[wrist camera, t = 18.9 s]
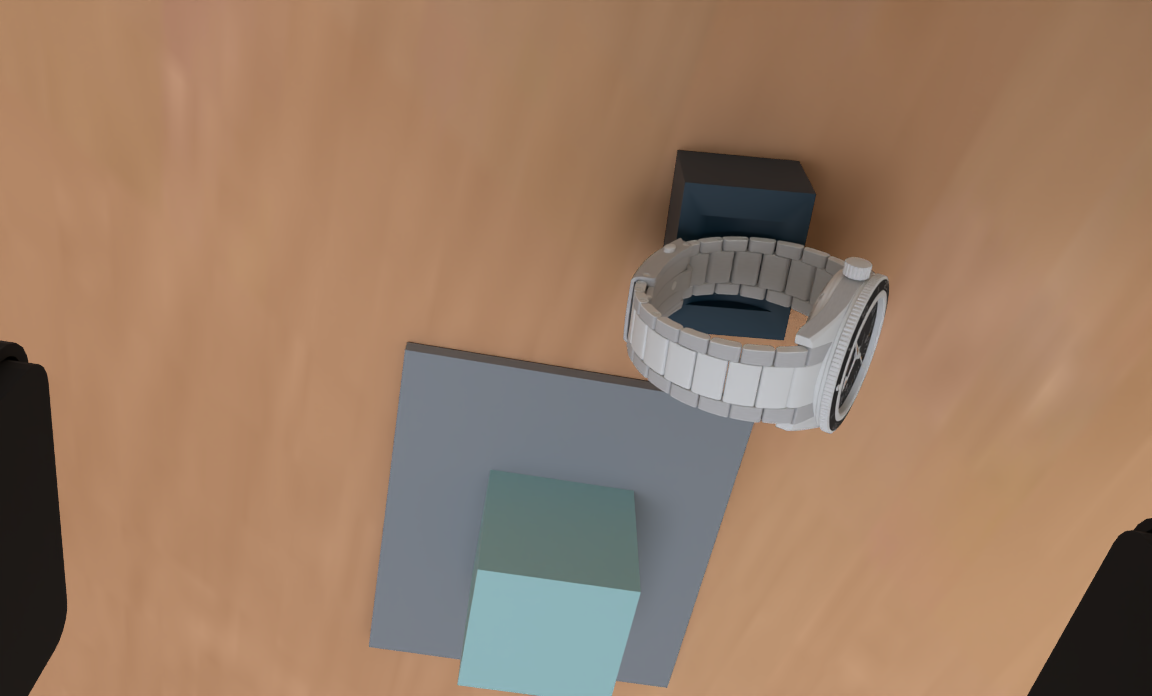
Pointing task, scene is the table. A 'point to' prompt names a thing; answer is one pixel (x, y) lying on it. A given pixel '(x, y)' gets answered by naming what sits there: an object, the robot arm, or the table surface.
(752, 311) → the watch
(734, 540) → the table surface
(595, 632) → the cube
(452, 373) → the mat
